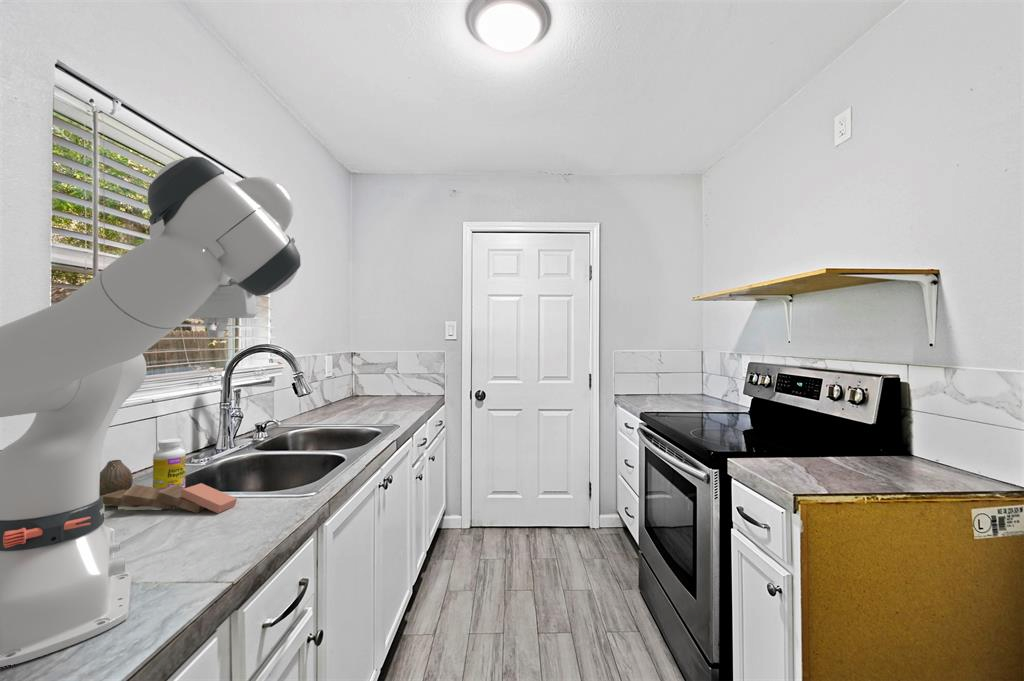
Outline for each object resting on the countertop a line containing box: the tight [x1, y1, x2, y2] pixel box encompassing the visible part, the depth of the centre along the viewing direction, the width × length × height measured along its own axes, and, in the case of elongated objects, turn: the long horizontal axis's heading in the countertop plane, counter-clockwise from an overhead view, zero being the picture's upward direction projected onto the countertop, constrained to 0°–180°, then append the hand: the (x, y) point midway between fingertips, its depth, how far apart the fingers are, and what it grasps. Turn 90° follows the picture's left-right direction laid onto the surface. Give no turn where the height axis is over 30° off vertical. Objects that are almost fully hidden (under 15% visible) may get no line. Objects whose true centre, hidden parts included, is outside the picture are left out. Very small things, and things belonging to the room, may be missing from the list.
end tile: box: [180, 482, 238, 514], centre depth 103 cm, size 2×5×10 cm
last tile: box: [117, 505, 164, 511], centre depth 105 cm, size 2×5×10 cm
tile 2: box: [156, 485, 207, 514], centre depth 103 cm, size 2×5×10 cm
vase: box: [99, 459, 134, 496], centre depth 111 cm, size 7×7×9 cm
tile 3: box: [121, 483, 177, 511], centre depth 103 cm, size 2×5×10 cm
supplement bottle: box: [152, 438, 187, 489], centre depth 116 cm, size 7×7×13 cm
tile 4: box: [102, 490, 142, 507], centre depth 105 cm, size 2×5×10 cm
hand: (215, 337), depth 108 cm, fingers closed
